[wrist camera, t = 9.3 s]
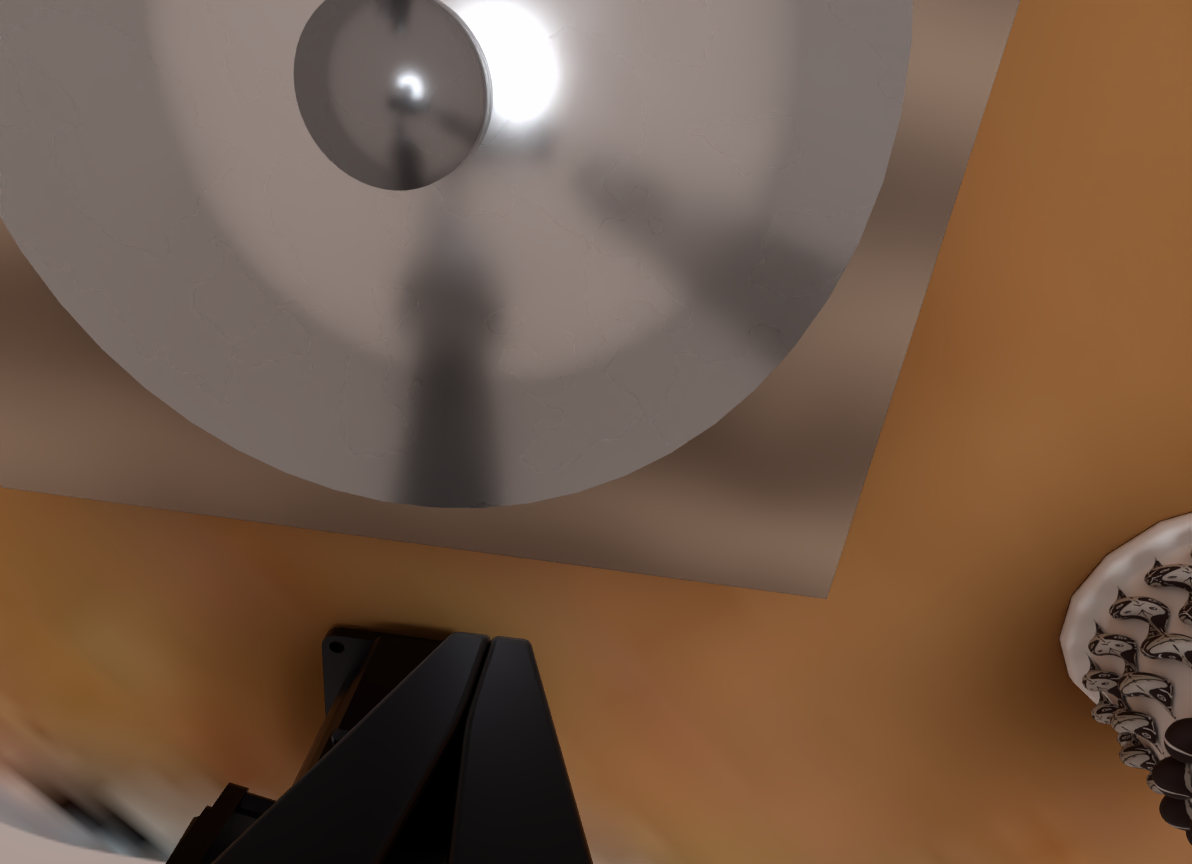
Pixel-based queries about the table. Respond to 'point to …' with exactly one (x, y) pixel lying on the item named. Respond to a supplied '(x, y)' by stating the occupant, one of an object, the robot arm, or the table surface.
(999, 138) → the table surface
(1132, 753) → the decorative candle
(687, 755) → the table surface
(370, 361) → the dial
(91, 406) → the walnut stand
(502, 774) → the robot arm
